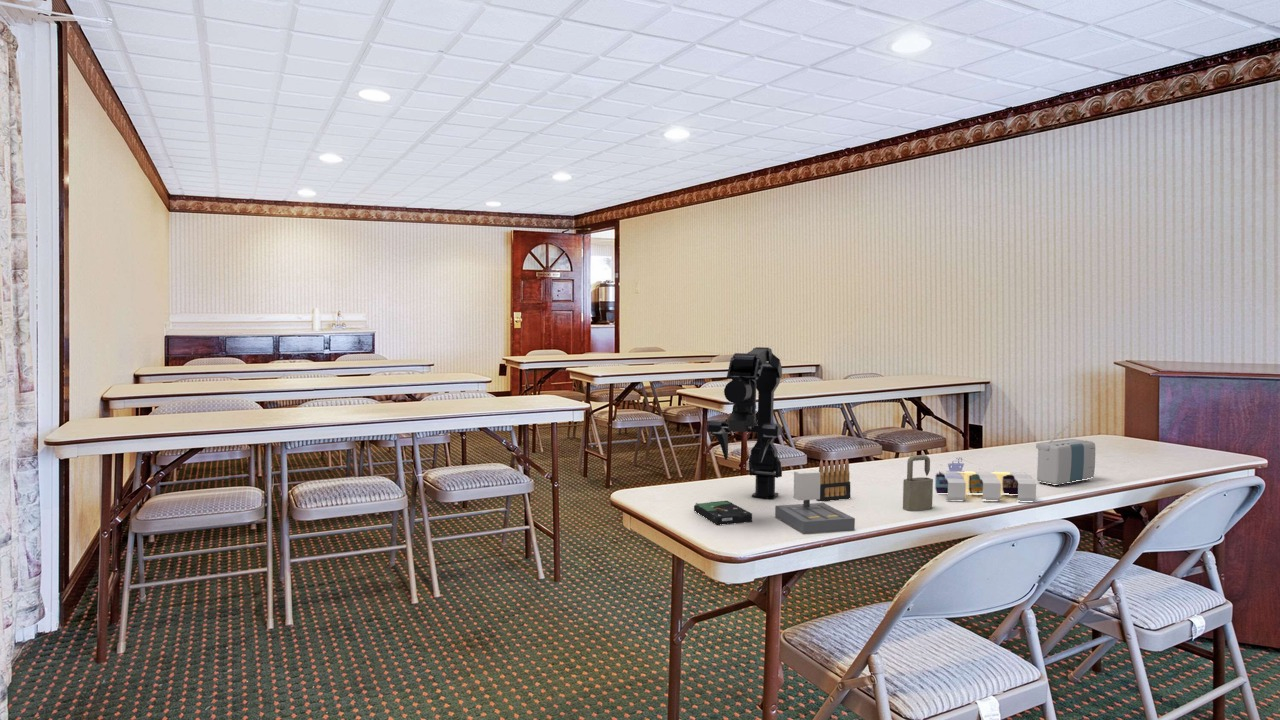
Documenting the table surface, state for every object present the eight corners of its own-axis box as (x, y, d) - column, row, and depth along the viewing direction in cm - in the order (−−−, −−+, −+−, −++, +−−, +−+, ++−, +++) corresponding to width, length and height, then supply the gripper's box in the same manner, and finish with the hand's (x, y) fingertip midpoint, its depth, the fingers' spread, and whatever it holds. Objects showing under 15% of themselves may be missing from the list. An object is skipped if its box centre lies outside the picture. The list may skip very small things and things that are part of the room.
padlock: (934, 509, 206) (935, 455, 205) (910, 511, 203) (912, 457, 202) (924, 505, 209) (925, 453, 209) (900, 508, 206) (902, 454, 206)
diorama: (947, 503, 214) (948, 458, 213) (934, 494, 224) (935, 451, 223) (1035, 504, 213) (1037, 459, 212) (1018, 495, 223) (1020, 452, 223)
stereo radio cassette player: (1057, 488, 233) (1060, 425, 231) (1032, 483, 240) (1034, 421, 239) (1095, 481, 243) (1098, 421, 242) (1070, 476, 250) (1073, 417, 249)
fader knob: (793, 506, 195) (794, 471, 194) (814, 504, 196) (814, 470, 196) (798, 508, 192) (799, 473, 191) (819, 507, 193) (820, 472, 193)
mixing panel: (775, 516, 196) (775, 505, 196) (822, 513, 200) (823, 502, 200) (803, 533, 181) (803, 521, 181) (854, 530, 185) (854, 517, 184)
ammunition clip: (846, 497, 219) (847, 457, 218) (850, 498, 217) (851, 458, 216) (816, 500, 215) (816, 459, 214) (819, 501, 213) (820, 460, 212)
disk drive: (753, 524, 192) (727, 509, 206) (753, 513, 192) (727, 499, 205) (717, 527, 188) (692, 512, 202) (717, 517, 188) (693, 502, 202)
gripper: (701, 401, 190) (699, 462, 190) (773, 404, 183) (772, 468, 183) (713, 399, 200) (712, 456, 200) (782, 402, 193) (781, 462, 193)
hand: (743, 460), depth 194 cm, fingers open, 9 cm apart
